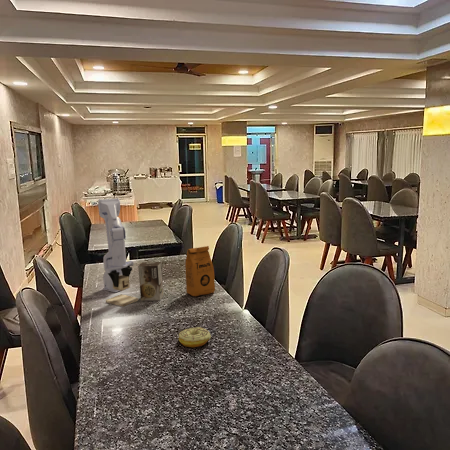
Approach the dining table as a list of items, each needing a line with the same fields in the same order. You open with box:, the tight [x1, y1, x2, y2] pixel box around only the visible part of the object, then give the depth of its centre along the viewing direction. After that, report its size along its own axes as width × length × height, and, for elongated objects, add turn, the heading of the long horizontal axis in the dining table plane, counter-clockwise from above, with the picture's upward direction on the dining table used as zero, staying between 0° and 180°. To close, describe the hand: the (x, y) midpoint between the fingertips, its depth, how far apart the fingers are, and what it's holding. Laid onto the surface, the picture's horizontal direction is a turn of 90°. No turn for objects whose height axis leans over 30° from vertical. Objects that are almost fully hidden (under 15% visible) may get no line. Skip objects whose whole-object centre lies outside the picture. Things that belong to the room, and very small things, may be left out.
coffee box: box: [137, 261, 164, 302], centre depth 182 cm, size 9×6×16 cm
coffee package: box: [184, 245, 216, 297], centre depth 186 cm, size 10×12×22 cm
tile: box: [105, 293, 139, 308], centre depth 181 cm, size 11×9×1 cm
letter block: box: [113, 275, 131, 292], centre depth 179 cm, size 5×5×5 cm
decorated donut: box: [178, 326, 212, 348], centre depth 139 cm, size 10×11×4 cm
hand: (121, 285), depth 180 cm, fingers closed on letter block, 5 cm apart
